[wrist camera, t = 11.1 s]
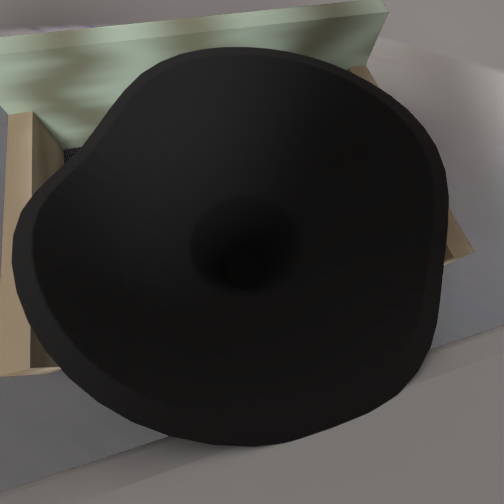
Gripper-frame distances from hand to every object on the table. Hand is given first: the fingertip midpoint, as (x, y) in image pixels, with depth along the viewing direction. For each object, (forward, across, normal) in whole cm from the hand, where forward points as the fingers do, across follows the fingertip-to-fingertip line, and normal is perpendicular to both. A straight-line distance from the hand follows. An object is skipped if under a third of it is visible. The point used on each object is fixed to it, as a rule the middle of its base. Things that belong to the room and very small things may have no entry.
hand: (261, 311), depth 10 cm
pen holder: (+5, 0, +2) cm, 5 cm away
